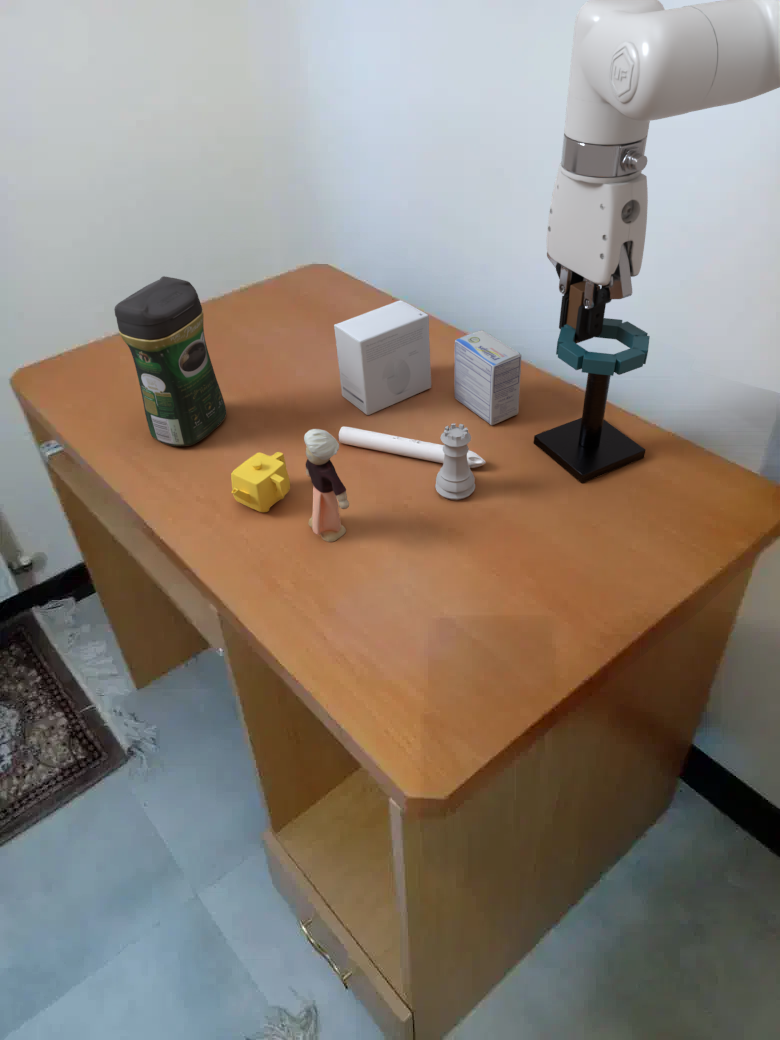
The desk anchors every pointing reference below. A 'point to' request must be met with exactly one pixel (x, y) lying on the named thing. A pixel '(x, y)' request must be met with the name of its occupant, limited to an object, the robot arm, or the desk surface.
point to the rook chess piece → (455, 464)
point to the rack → (590, 438)
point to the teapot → (261, 481)
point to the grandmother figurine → (325, 485)
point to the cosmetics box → (384, 356)
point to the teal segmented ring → (610, 330)
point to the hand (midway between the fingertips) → (579, 331)
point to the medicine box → (487, 376)
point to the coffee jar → (172, 361)
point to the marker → (400, 446)
